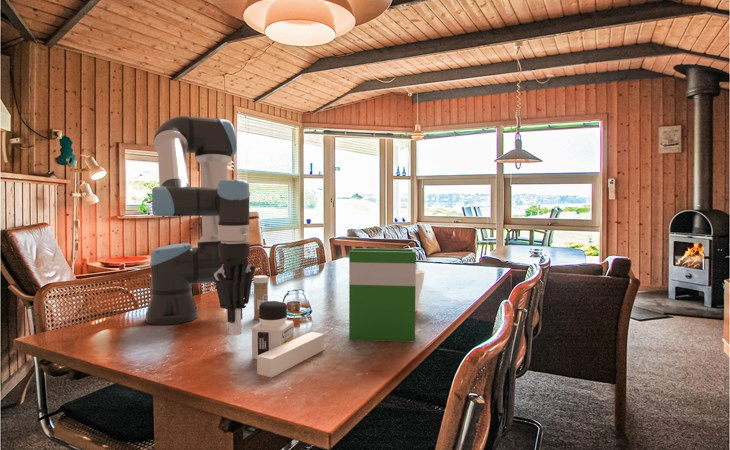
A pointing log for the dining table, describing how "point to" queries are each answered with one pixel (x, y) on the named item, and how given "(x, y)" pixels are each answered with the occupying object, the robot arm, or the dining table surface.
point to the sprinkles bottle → (260, 293)
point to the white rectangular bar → (289, 354)
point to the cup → (418, 286)
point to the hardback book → (382, 294)
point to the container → (271, 328)
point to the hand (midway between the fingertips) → (235, 333)
